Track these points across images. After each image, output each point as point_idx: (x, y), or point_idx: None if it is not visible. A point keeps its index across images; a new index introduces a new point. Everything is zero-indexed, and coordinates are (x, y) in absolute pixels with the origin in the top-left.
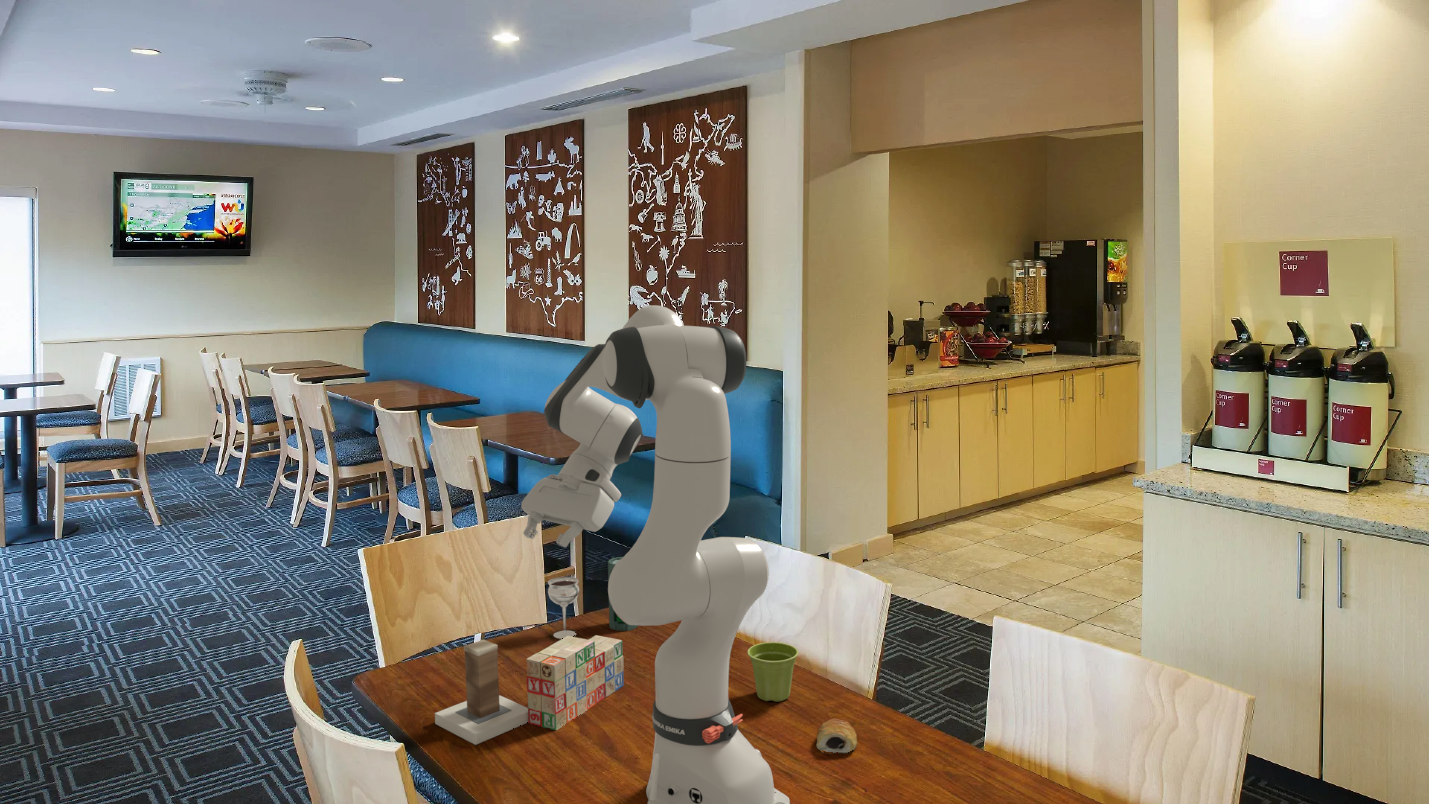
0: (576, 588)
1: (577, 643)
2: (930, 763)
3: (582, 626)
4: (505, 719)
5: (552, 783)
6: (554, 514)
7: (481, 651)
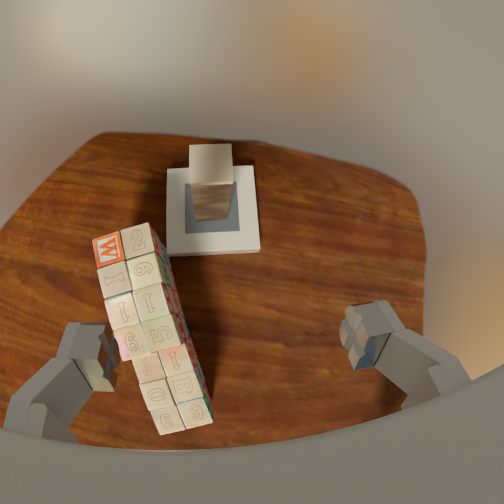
0: None
1: (135, 331)
2: None
3: None
4: (169, 213)
5: (51, 190)
6: (225, 450)
7: (189, 152)
